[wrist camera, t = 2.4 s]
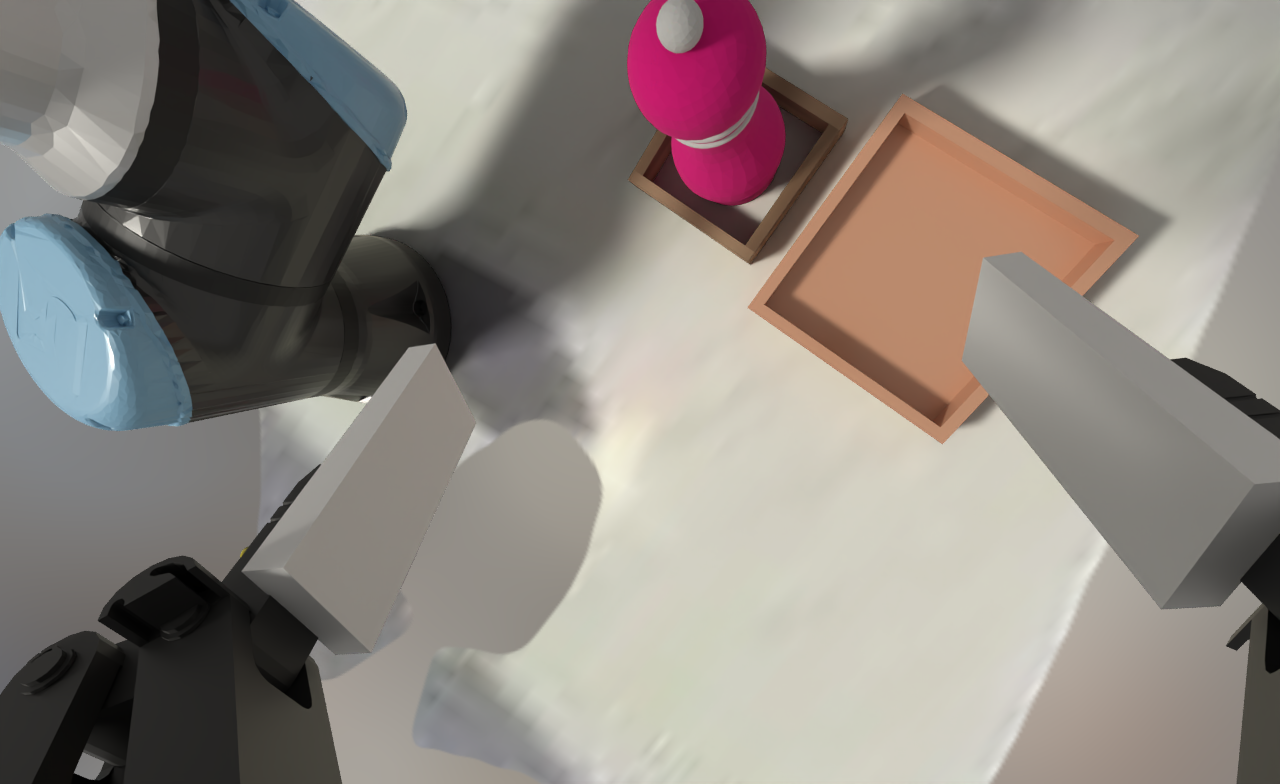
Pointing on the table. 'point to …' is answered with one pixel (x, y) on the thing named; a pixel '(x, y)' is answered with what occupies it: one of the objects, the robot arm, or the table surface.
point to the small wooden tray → (832, 130)
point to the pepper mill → (709, 94)
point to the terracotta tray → (924, 261)
